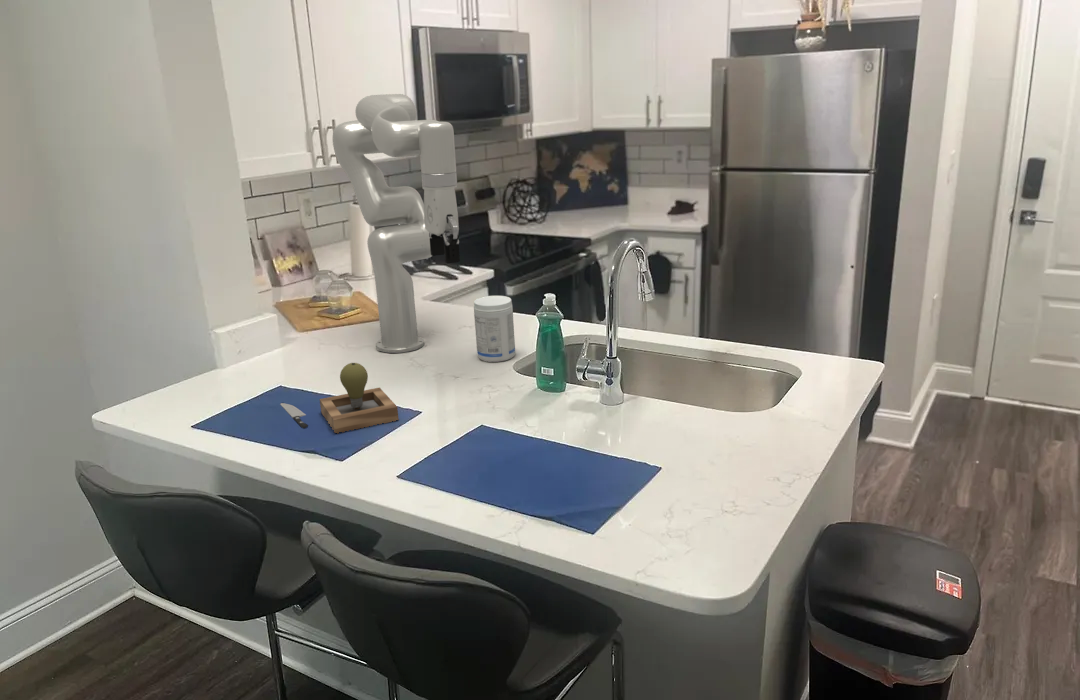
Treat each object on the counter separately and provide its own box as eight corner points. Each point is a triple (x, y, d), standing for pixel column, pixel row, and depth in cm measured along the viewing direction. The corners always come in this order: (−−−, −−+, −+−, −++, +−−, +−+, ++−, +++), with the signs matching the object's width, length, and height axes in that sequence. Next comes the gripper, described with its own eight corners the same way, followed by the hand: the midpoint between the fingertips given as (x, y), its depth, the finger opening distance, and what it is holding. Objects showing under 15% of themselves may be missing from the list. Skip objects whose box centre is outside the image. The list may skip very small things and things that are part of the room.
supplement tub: (500, 348, 208) (497, 293, 204) (523, 356, 201) (520, 299, 197) (469, 357, 203) (465, 300, 198) (491, 365, 196) (488, 307, 191)
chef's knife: (290, 400, 180) (277, 403, 179) (290, 395, 180) (276, 398, 178) (317, 427, 165) (303, 430, 163) (317, 422, 164) (302, 425, 163)
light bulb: (376, 407, 169) (371, 362, 166) (354, 415, 165) (349, 369, 162) (360, 401, 173) (355, 357, 170) (338, 409, 169) (333, 364, 166)
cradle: (321, 412, 171) (319, 399, 170) (380, 400, 177) (379, 387, 176) (335, 433, 160) (333, 419, 159) (398, 420, 165) (397, 406, 164)
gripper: (410, 178, 181) (417, 254, 186) (436, 186, 166) (442, 268, 171) (442, 176, 184) (447, 250, 189) (470, 183, 169) (475, 263, 174)
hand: (445, 258), depth 180 cm, fingers open, 9 cm apart
